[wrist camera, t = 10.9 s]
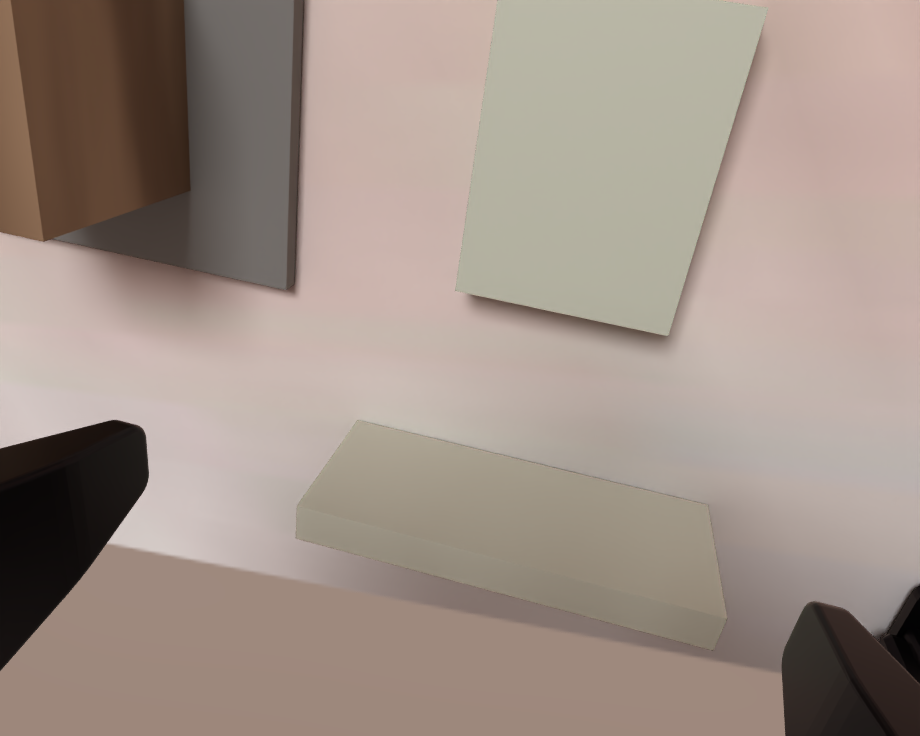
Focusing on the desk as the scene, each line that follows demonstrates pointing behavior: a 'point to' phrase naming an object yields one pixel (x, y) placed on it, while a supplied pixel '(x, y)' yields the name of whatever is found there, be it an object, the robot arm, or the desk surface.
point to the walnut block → (90, 111)
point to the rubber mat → (229, 151)
